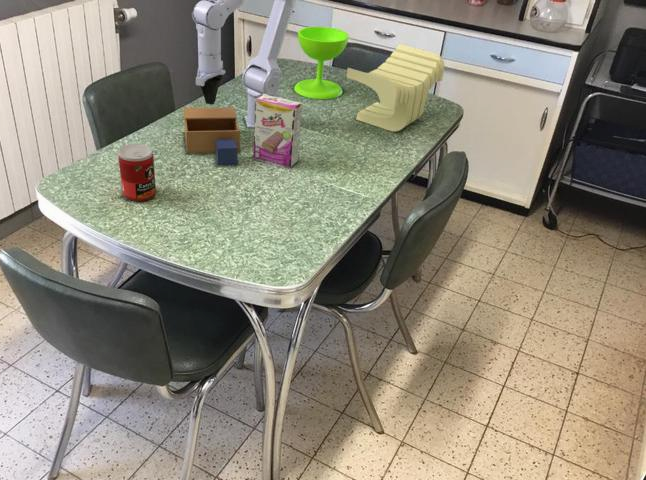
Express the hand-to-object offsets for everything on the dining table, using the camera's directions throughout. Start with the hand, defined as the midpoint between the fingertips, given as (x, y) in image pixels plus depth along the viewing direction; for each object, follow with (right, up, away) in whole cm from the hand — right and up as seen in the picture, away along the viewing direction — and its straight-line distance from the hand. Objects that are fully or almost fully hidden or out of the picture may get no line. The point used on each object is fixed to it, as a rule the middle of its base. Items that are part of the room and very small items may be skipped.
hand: (210, 103), depth 170 cm
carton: (0, -10, +5) cm, 11 cm away
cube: (+5, -16, -4) cm, 17 cm away
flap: (0, -2, +3) cm, 4 cm away
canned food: (-15, -27, -19) cm, 36 cm away
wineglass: (+31, +15, +40) cm, 53 cm away
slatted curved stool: (+52, +1, +23) cm, 57 cm away
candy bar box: (+17, -16, -2) cm, 23 cm away
